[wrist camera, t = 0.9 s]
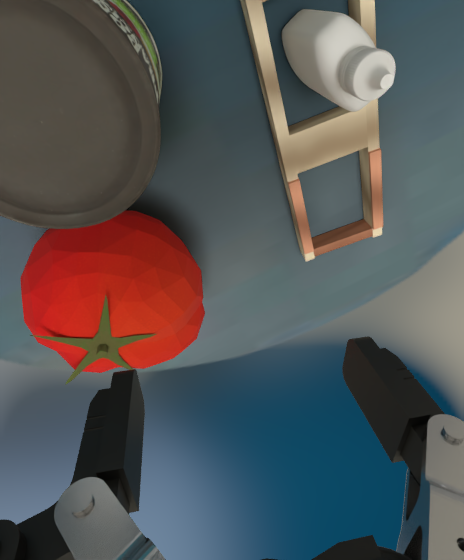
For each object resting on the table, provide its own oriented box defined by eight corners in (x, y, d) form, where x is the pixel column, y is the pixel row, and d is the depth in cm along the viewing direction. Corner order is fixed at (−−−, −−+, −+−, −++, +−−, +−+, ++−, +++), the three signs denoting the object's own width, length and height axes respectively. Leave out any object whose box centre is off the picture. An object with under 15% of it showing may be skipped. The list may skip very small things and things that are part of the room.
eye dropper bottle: (337, -2, 24) (440, -1, 15) (337, 85, 28) (420, 127, 19) (278, 14, 24) (346, 25, 15) (285, 98, 28) (344, 147, 19)
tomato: (23, 257, 34) (-39, 373, 23) (90, 146, 28) (48, 234, 18) (158, 316, 42) (156, 422, 31) (230, 239, 36) (258, 337, 26)
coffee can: (69, -73, 20) (-36, -150, 10) (190, 77, 26) (208, 132, 15) (-21, 60, 24) (-175, 113, 13) (104, 166, 29) (70, 264, 19)
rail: (236, -15, 23) (242, -15, 21) (357, -68, 22) (374, -73, 21) (300, 251, 39) (307, 263, 37) (373, 224, 38) (383, 235, 36)
